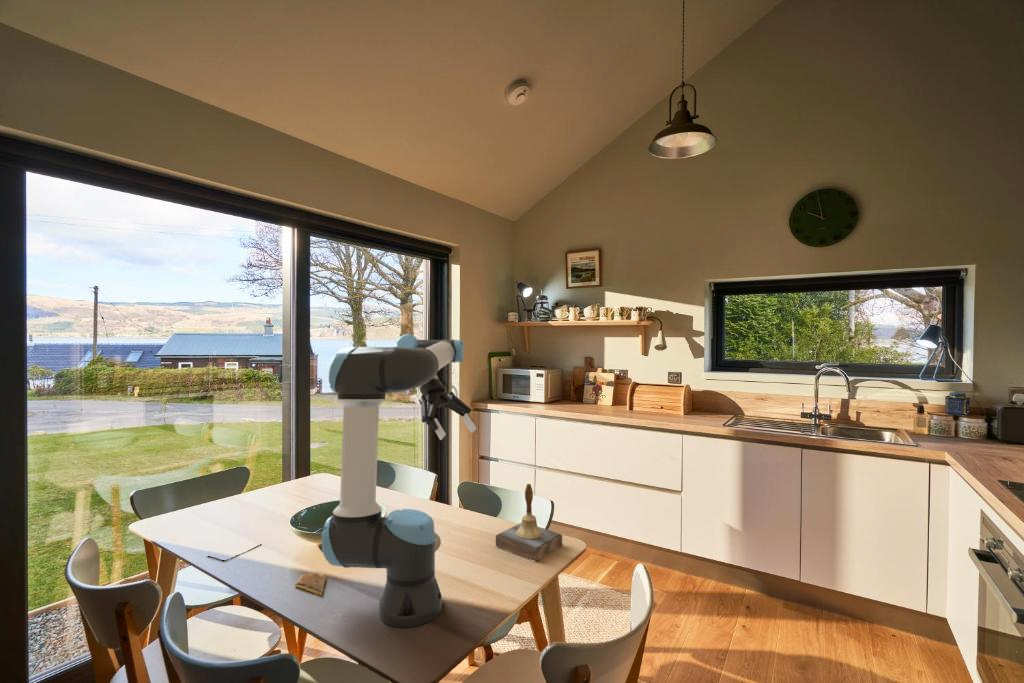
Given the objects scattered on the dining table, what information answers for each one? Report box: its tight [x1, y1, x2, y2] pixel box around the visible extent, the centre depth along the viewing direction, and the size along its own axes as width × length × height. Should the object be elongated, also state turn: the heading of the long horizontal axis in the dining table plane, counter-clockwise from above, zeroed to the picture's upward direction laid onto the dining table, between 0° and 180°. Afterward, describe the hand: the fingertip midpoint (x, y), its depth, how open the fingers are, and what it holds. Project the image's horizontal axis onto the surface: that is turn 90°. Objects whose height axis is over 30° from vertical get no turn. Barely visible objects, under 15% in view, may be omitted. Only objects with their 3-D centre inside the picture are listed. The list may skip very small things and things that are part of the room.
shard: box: [294, 572, 327, 596], centre depth 128 cm, size 11×8×2 cm
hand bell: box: [516, 483, 542, 540], centre depth 152 cm, size 8×8×16 cm
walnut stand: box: [495, 522, 563, 562], centre depth 152 cm, size 14×16×4 cm
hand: (459, 434), depth 156 cm, fingers open, 13 cm apart
